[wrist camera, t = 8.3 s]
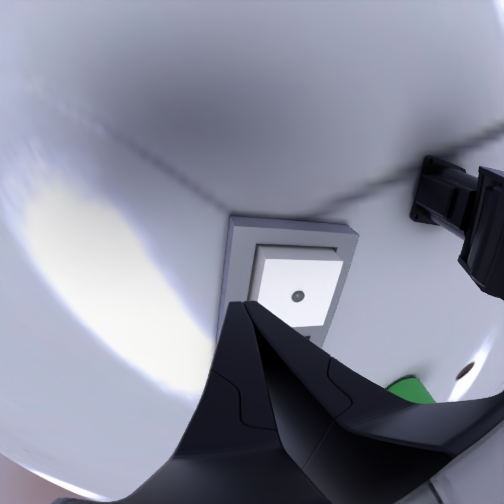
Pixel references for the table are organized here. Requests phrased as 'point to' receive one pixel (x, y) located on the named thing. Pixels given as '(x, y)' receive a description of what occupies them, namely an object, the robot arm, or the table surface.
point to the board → (283, 233)
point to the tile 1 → (295, 281)
